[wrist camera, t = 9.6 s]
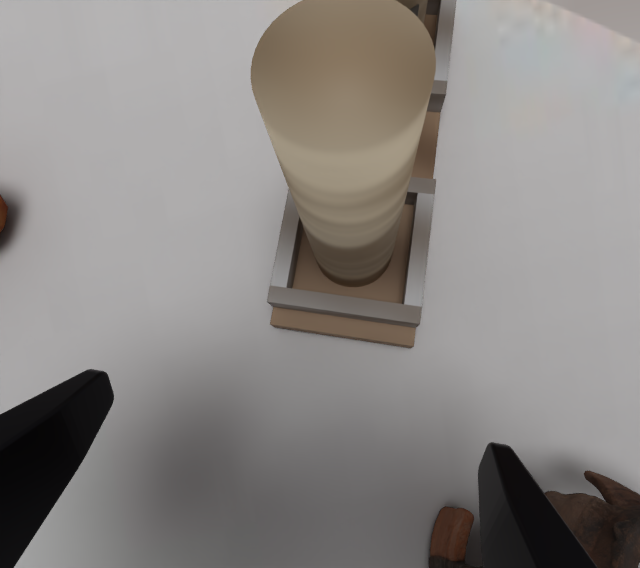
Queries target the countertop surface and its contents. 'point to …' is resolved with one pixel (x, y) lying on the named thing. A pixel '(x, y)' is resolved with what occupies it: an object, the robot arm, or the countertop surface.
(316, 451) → the countertop surface
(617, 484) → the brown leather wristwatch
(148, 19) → the countertop surface
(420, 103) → the beige round canister
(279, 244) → the double slot holder
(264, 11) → the countertop surface
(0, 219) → the hot dog
